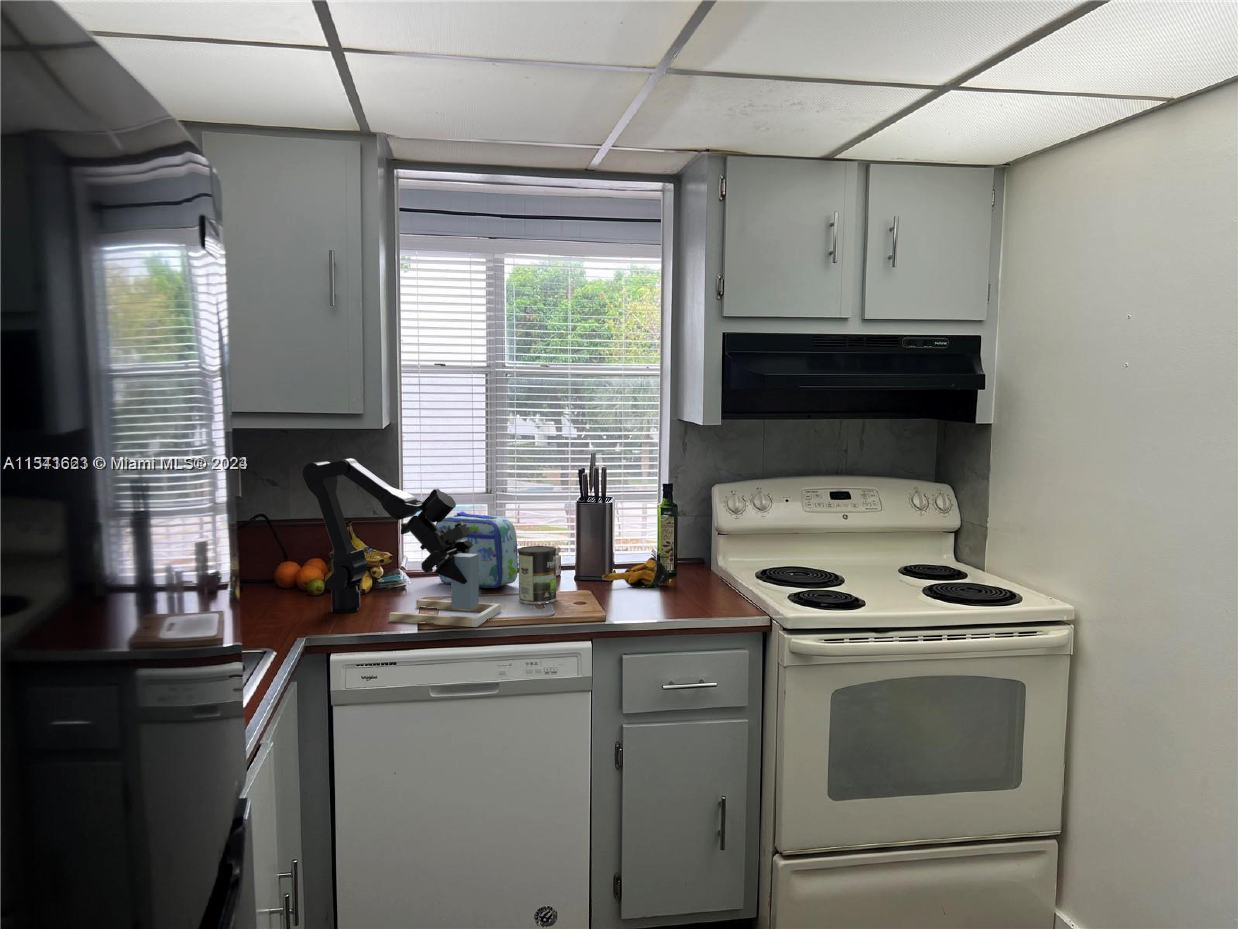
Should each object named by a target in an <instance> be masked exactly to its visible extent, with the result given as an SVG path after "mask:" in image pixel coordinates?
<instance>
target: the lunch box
mask: <svg viewBox="0 0 1238 929" xmlns="http://www.w3.org/2000/svg"><path fill="white" fill-rule="evenodd" d="M460 522H463V523H464V524H467V526H469V527H470V529H469V534H470V536H467V537H464V538H462V539H460V540H457V542H459V541H461V540H469V541H470V542H471V543H472V544H473V546H472V547H471V548H470V549H469V552H468V554H479V588H485V589H497V588H499V587H503V586H506V585H509V584H513V583H515V581H516V580H517V577H518V575H519V562H518V542H517V540H518V538H517V533H516V532H517V531H516V528H515V526H514V524H513V523H512V521H511V520H510V519H508V518H504V517H501V516H495V515H485V514H474V513H473V514H471V513H466V512H465V511H460V512H456V513H455V515H453V516H446V517H445V518H444V519H443V520H442V522H435V525H436V526H437V527H438V528H439V529H440V530H441V529H445V530H446V531H449V530H451V529H453V528H455V524H458V523H460ZM436 569H437V568H436V567H435V570H436ZM438 578H439V579H440V581H441V583H443V584H449V585H451V579H450V578H448V577H445V576H442V575H439V574H438Z"/></svg>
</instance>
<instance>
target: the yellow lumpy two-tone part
mask: <svg viewBox="0 0 1238 929" xmlns="http://www.w3.org/2000/svg"><path fill="white" fill-rule="evenodd" d="M669 576H670V574H669V570H667V569H666V567H665V565H664V564H663V563H662V562H661V561H659V560H657V559H656V557H654V556H652V557H649V558H648V559H647V560H646V562H644V563H642V564H637V565H633V566H630V567H628V568H627V569H625V571H624V572H611V573H605V574H602V576H601V579H602V580H603V581H604V580H605V581H620V580H623V581H625V583H626V584H627V585H628V586H629V587H632V588H638V589H639V588H651V587H658V586H660V585H661V584H663V585H665V584H666V583H667V581H668V580H669V579H670V577H669Z"/></svg>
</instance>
